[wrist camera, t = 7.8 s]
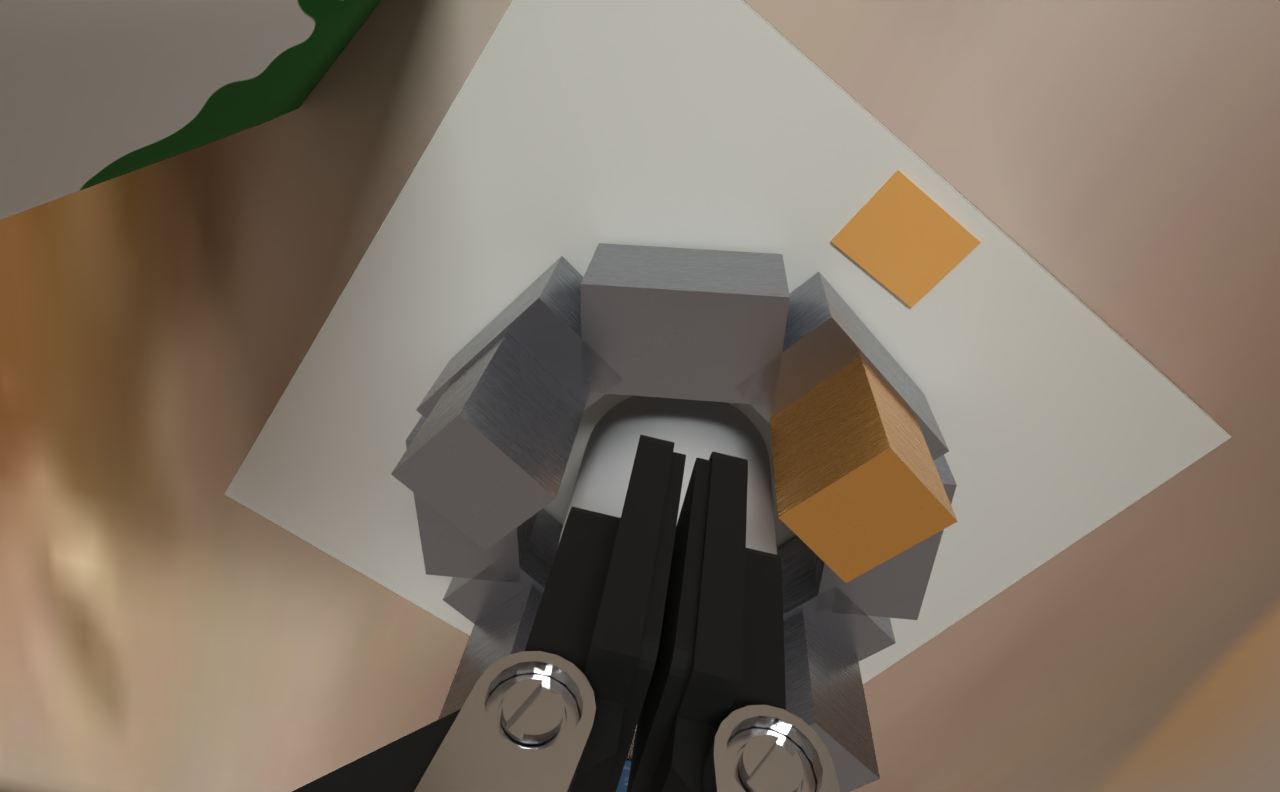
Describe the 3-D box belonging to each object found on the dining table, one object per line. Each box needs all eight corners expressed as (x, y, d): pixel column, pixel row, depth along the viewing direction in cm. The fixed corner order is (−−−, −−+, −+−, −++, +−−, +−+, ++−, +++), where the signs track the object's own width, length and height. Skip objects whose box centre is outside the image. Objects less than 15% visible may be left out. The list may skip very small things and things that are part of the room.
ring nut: (1015, 499, 24) (1112, 685, 18) (662, 692, 30) (645, 879, 24) (697, 129, 19) (682, 211, 13) (356, 446, 25) (240, 600, 19)
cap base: (600, -128, 18) (548, -159, 13) (1204, 410, 24) (1337, 539, 18) (246, 469, 29) (140, 583, 23) (720, 748, 34) (719, 891, 29)
